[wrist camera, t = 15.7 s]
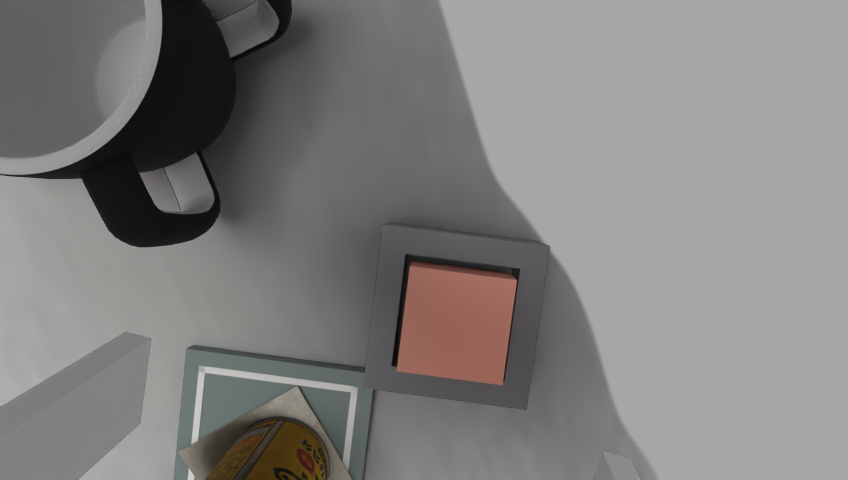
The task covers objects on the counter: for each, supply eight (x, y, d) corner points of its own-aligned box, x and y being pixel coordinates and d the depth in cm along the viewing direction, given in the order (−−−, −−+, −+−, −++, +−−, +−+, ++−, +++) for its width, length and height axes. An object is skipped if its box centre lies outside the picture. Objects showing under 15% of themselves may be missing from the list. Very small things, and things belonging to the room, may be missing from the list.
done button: (412, 260, 30) (409, 266, 28) (509, 272, 30) (516, 280, 27) (400, 355, 31) (396, 371, 28) (496, 367, 31) (502, 385, 28)
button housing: (389, 222, 33) (382, 224, 29) (536, 241, 33) (550, 246, 29) (371, 366, 34) (362, 387, 30) (516, 385, 34) (526, 410, 30)
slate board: (192, 345, 34) (186, 349, 33) (376, 370, 34) (374, 374, 33) (173, 537, 35) (166, 546, 34) (352, 563, 35) (350, 572, 34)
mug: (-9, 140, 34) (-256, 103, 22) (104, -99, 33) (-92, -276, 21) (223, 266, 34) (101, 298, 22) (344, 30, 33) (286, -72, 21)
